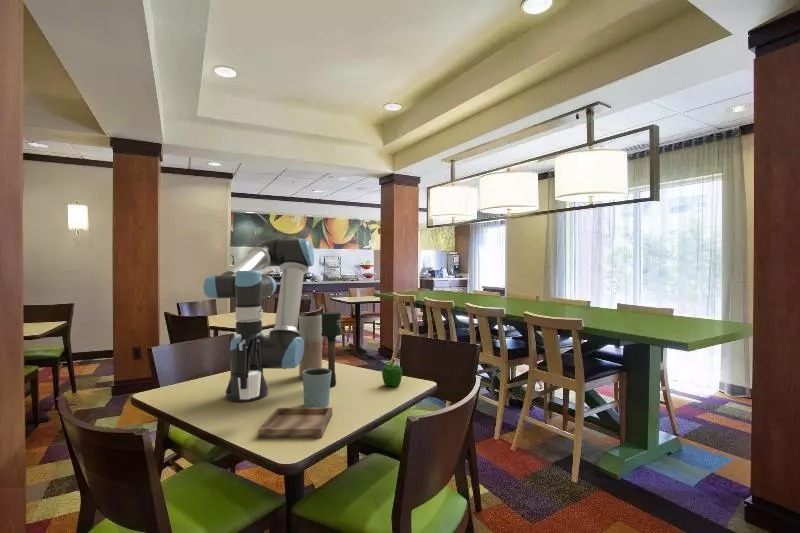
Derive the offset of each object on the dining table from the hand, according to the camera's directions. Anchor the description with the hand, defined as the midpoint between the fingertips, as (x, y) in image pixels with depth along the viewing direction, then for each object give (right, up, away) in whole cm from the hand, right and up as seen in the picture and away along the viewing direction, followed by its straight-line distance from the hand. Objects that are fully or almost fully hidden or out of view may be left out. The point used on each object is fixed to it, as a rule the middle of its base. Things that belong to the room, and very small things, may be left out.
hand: (249, 394), depth 126 cm
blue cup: (+17, -10, +19) cm, 27 cm away
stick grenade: (+18, -10, +42) cm, 47 cm away
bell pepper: (+43, -10, +42) cm, 61 cm away
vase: (+6, -10, +58) cm, 59 cm away
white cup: (0, -1, 0) cm, 1 cm away
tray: (+15, -9, 0) cm, 18 cm away
